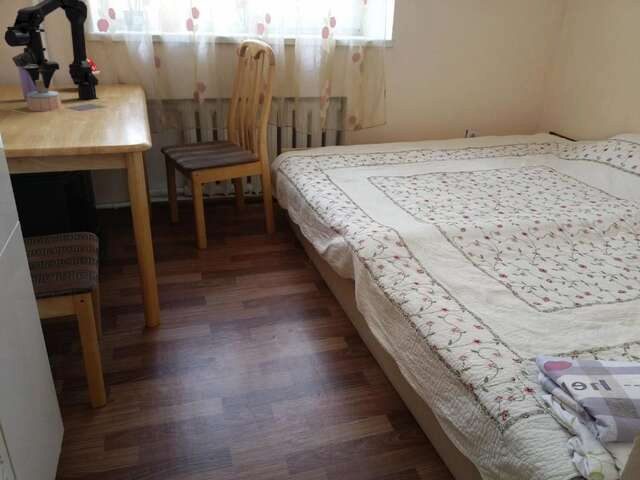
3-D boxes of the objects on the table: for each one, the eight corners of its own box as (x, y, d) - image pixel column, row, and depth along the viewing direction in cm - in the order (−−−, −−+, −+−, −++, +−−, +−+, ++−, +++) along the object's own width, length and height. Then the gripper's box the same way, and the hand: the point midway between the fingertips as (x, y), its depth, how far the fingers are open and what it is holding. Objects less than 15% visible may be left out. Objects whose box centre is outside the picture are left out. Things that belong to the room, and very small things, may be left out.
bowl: (50, 105, 218) (48, 92, 216) (68, 108, 213) (66, 95, 210) (22, 109, 209) (19, 96, 207) (40, 113, 203) (38, 99, 201)
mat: (90, 104, 222) (90, 103, 221) (106, 107, 217) (106, 106, 217) (64, 108, 212) (64, 107, 212) (80, 111, 208) (80, 110, 207)
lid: (47, 92, 216) (45, 77, 213) (64, 95, 210) (62, 80, 208) (21, 96, 207) (18, 80, 204) (38, 99, 202) (35, 83, 199)
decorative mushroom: (70, 88, 259) (65, 55, 252) (101, 87, 264) (96, 55, 258) (71, 92, 247) (66, 58, 241) (103, 91, 253) (99, 58, 246)
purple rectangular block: (33, 101, 224) (26, 64, 218) (21, 100, 225) (13, 63, 219) (43, 99, 229) (36, 63, 223) (30, 98, 231) (24, 62, 224)
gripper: (-1, 44, 199) (8, 87, 205) (28, 47, 190) (36, 92, 197) (27, 43, 208) (35, 84, 214) (56, 46, 199) (63, 89, 205)
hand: (41, 87), depth 207 cm, fingers open, 6 cm apart
